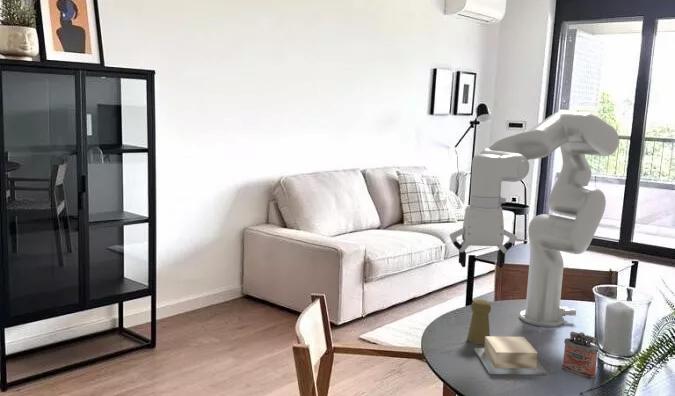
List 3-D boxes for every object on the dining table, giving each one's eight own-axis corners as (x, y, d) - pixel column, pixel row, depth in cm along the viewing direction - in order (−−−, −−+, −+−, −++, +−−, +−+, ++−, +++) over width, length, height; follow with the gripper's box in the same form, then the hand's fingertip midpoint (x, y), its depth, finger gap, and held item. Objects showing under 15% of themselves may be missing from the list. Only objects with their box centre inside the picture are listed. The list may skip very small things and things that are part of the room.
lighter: (559, 369, 153) (562, 330, 152) (565, 365, 156) (569, 327, 154) (591, 381, 148) (596, 340, 146) (598, 376, 150) (602, 336, 148)
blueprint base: (527, 350, 164) (528, 334, 163) (547, 374, 150) (548, 356, 150) (474, 350, 164) (475, 333, 163) (489, 374, 150) (490, 355, 149)
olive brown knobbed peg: (490, 345, 167) (493, 305, 165) (467, 342, 168) (470, 303, 166) (489, 336, 173) (492, 298, 171) (467, 334, 174) (470, 296, 172)
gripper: (514, 200, 166) (510, 262, 169) (448, 199, 166) (445, 261, 169) (522, 205, 159) (518, 270, 162) (454, 204, 159) (450, 269, 162)
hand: (481, 266), depth 166 cm, fingers open, 9 cm apart
